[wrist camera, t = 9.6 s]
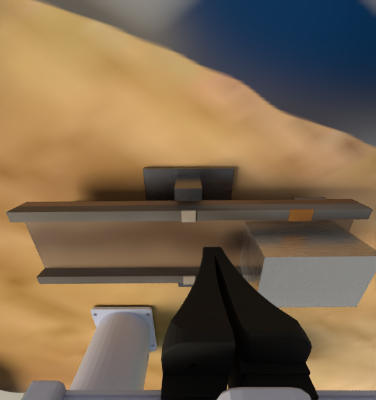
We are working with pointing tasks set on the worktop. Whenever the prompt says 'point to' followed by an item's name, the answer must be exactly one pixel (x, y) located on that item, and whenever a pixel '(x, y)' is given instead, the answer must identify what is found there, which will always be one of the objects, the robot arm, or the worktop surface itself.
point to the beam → (156, 234)
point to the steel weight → (306, 263)
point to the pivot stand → (188, 185)
